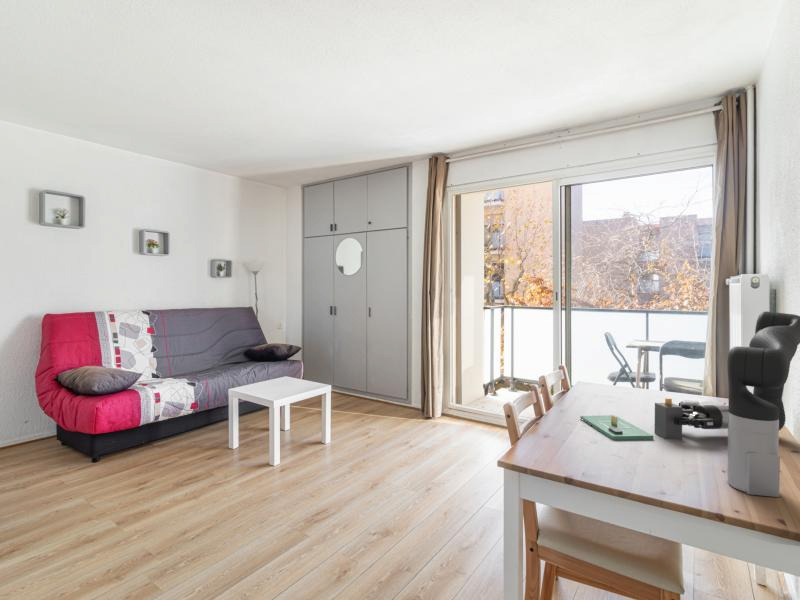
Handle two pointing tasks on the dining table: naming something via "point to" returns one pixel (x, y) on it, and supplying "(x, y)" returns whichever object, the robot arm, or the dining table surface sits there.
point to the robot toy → (697, 404)
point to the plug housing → (668, 420)
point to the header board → (617, 428)
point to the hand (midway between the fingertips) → (666, 417)
